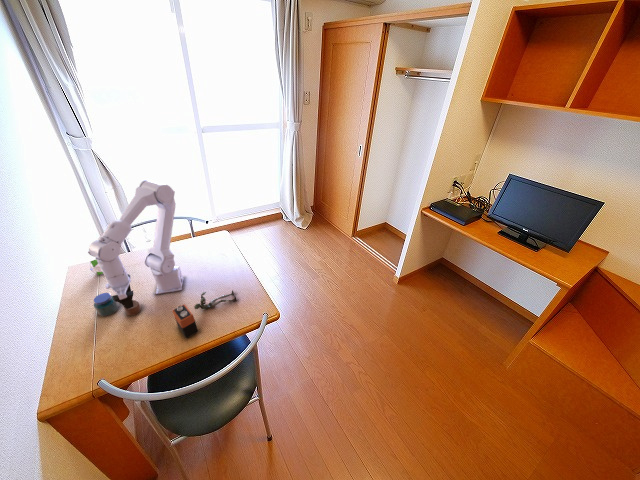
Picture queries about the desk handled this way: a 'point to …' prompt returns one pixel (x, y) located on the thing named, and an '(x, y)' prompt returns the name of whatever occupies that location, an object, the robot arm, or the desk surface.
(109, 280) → the robot arm
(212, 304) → the zombie figurine
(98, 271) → the geometric puzzle
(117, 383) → the desk surface
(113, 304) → the ink bottle
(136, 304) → the brown short cylinder
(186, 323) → the battery
